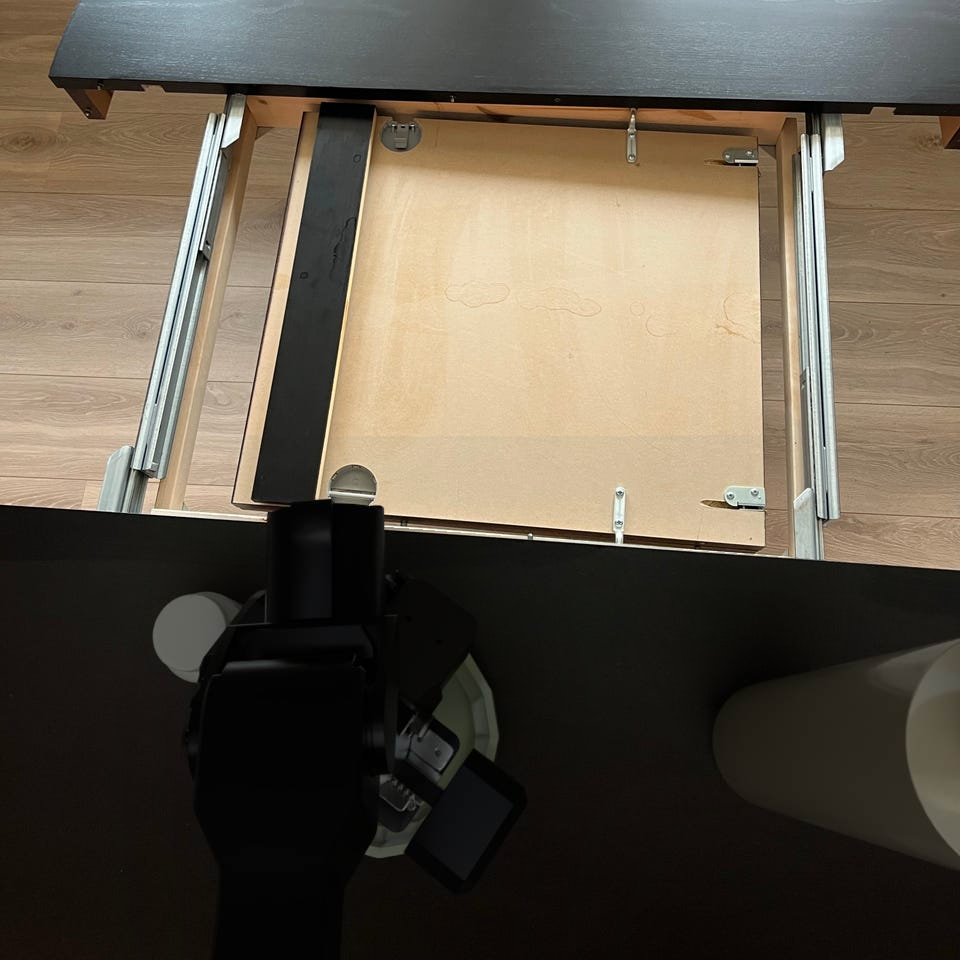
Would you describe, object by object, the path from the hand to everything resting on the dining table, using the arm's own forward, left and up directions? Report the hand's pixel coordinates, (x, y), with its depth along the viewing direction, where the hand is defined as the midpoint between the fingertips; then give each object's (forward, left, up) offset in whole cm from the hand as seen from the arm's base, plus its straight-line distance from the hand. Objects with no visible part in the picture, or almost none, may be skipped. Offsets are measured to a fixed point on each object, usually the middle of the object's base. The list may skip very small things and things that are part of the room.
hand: (380, 734), depth 65 cm
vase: (+5, -25, -8) cm, 27 cm away
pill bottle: (+3, +13, -8) cm, 16 cm away
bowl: (0, 0, -8) cm, 8 cm away
